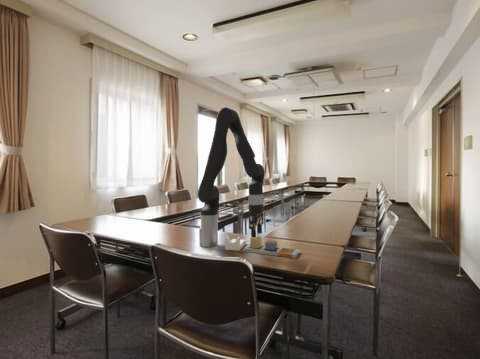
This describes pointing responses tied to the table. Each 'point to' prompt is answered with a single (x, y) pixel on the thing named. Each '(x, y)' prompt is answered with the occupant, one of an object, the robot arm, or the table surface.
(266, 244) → the brushed steel cube
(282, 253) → the grey long flat tray
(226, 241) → the bracket
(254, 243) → the yellow gold block
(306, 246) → the table surface
